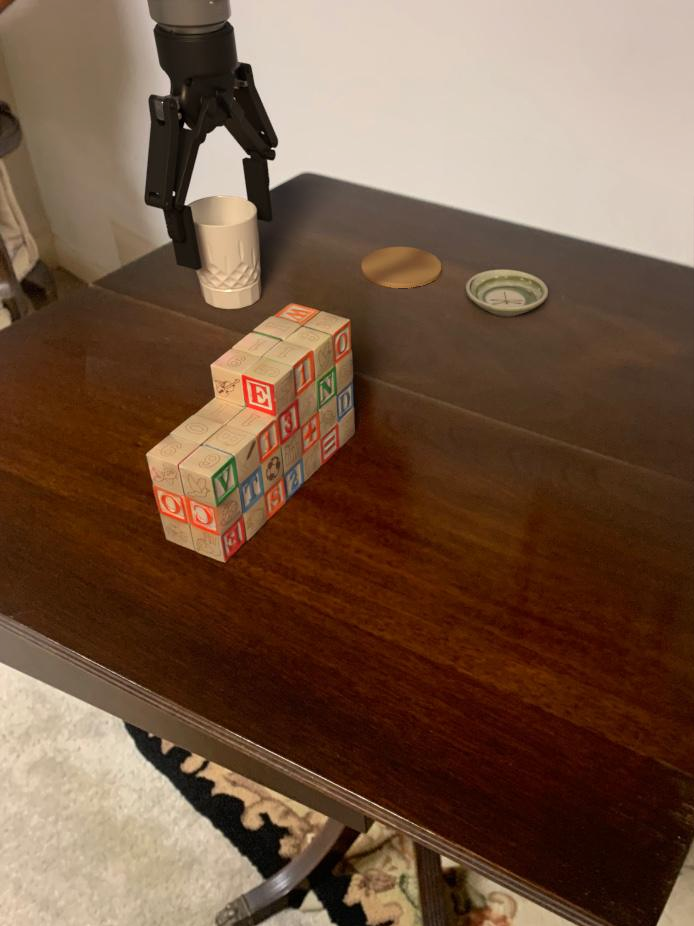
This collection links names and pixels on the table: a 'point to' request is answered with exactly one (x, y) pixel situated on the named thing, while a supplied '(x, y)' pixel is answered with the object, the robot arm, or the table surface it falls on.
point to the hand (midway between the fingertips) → (227, 241)
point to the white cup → (227, 251)
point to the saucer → (506, 291)
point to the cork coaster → (401, 267)
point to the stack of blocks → (257, 431)
